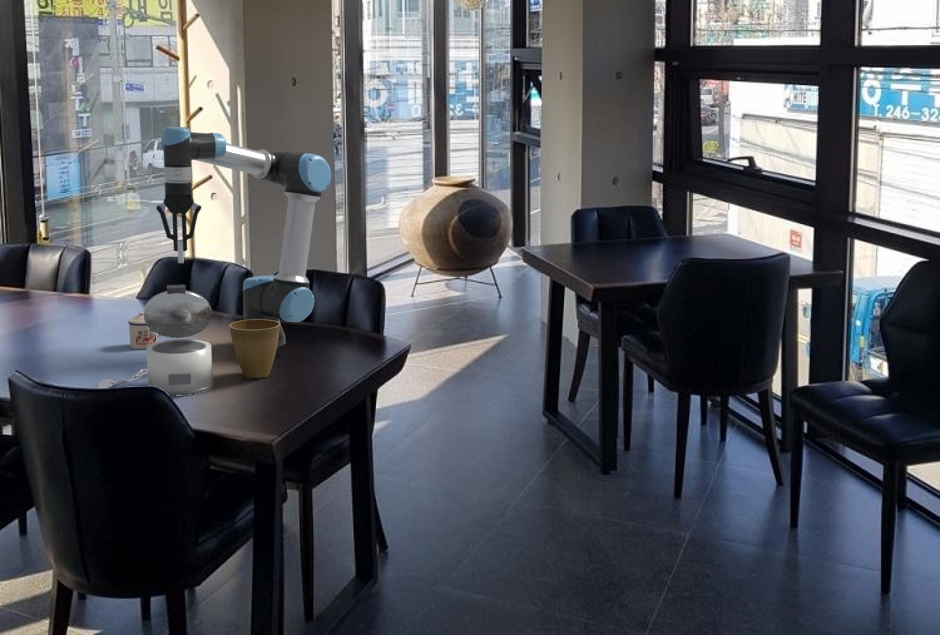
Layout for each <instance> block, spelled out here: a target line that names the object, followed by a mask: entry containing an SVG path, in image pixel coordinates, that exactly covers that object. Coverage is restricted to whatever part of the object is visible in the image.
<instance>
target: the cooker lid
mask: <svg viewBox="0 0 940 635" xmlns="http://www.w3.org/2000/svg"><path fill="white" fill-rule="evenodd" d="M143 312H144V321H145V323H146V325H147V326H148V327H149V328H150V329H151V330H152V331H154V332H155V333H157V335H162V337H166V338H173V339H175V338H178V339H181V338H189V337H192V336H194V335H197V334H199V333H201V332H203V331H204V330H205V329H206V328H207V327H208V326H209V325H210V323H211V322H212V318H213V317H212V314H213V313H212V308H211V304H210V302H209V301H208V300H207V299H206V298H205V297H204V296H202V295H200V294H198V293H196V292H193V291H191V290H186V284H167V285H166V290H165V291H163V292H160V293H158V294H155V295H153V296H152V297H151V298H150V299H148V301H147V302H146V304H145V306H144V307H143Z"/></svg>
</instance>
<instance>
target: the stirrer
mask: <svg viewBox="0 0 940 635" xmlns="http://www.w3.org/2000/svg"><path fill="white" fill-rule="evenodd" d="M145 376H148V368H143V369H141V370H138V371H137V372H136V373H135V374H134V375H133V376H132V377H130V378H129V379H125V380H122V379H121V380H118V379H114V378H107V379H103V380H101V381H100V382H99V383H98V385H97V388H98V387H110V388H111V387H112V386H114V385H115V384H116V383H118V382H122V383H123V382H124V383H129V382H132V381H135V380H140V379H142V378H144V377H145ZM128 381H129V382H128Z"/></svg>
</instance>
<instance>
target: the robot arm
mask: <svg viewBox="0 0 940 635" xmlns="http://www.w3.org/2000/svg"><path fill="white" fill-rule="evenodd" d="M190 130H191V129H190V128H189V127H185V126H177V127H176V126H168V127H165V128H164V129H163V132H162V136H161V139H160V147H161V150H162V151H163V173H164V174H163V175H164V180H165V181H166V182H165V183H164V199H163V202H161V203H160V204H157V206H156V210H157V212H158V213H159V215H160V217H161V222H162V225H163V228H164V229H163V230H164V231H165V236H166V238H167V239H170V240H172V241H173V251H174V252H177V263H178V264H184V261H185V259H184V258H185V257H184V252H187V251H188V240H190V239H193V238H194V233H195V229H196V224H197V220H198V214H199V213H200V211H201V210H202V205H200V204H198V203H196V202H195V200H194V198H193V192H192V191H193V189H192V186H193V184H192V183H191V181H192V161H196V162H197V161H198V162H202V163H205V164H210V165H213V166H218V167H221V168H222V167H223V168H227V169H231V170H235V171H238V172H242V173H247V174H250V175H252V176H253V177H254V178H255V179H258V180H262V181H265V182H267V183H270V184H274V185H277V186H279V187H283V188H284V194H285V196H286V197H287V199H288V201H287V209H286V215H285V223H284V224H285V225H284V229H283V230H284V232H283V239H282V245H281V246H282V247H281V254H280V255H281V256H280V262H279V267H278V268H279V270H278V273H277V274H276V275H273V274H272V275H270V274H269V275H257V276H252V277H248V278H246V279H244V281H243V283H242V284H243V285H242V297H243V299H242V300H243V302H242V304H243V320H251V319H265V320H273V321H277V322H279V323H280V330H279V338H278V344H277V349H278V348H281V346H282V347H283V345H284V344H285V345H286V334H285V333H284V332H285V331H284V329H283V327H282V325H281V320H283V321H285V322H291V323H299V322H303V321H304V320H305V319H306V318H307V317H309V315H310V314H311V313H312V311H313V308H314V305H315V296H314V294H313V291H312V290H310V281H309V279H308V277H307V276H306V275H307V268H308V261H309V260H308V259H309V255H310V254H309V253H310V244H311V240H312V239H311V238H312V230H313V222H314V216H315V215H314V214H315V206H316V203H317V202H318V201H319V200H320V199H321V198H322V192H324V191H326V190H327V188H328V187H330V186H329V185H330V183H331V179H332V172H331V168H330V165H329V164H328V162H327V160H326V159H325V158H324V157H322V156H321V155H318V154H314V153H310V152H309V153H306V152H293V151H278V150H277V151H274V150H268V149H263V148H262V149H258V150H254V149H250V148H247V147H243V146H239V145H235V144H231V143H227V141H226V140H227V139H226V138H225V136H224V135H223V134H221V133H218V132H215V133H214V132H208V133H205V132H204V133H203V132H195V131H194V132H192V131H190ZM166 208H167V209H168V211H169V213H171V214H172V233H171V229H170V226H169V223H168V219H167V214H166V213H165V210H166ZM191 208H192V211H193V215H192V218H191V224H190V228H189V233H187V232H188V230H187V213H188V212H189V211H190V210H191ZM178 214H180V215H181V230H182V231H181V235H182V239H179V237H178V236H179V235H178ZM285 345H284V346H285Z"/></svg>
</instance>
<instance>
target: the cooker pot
mask: <svg viewBox="0 0 940 635" xmlns="http://www.w3.org/2000/svg"><path fill="white" fill-rule="evenodd" d="M212 356H213V355H212V345H211V342H210V343H209V342H207V341H204V340H201V339H191V338H189V339H188V338H187V339H181V338H178V339H170V340H162V341H157V343H154V344H151V345H149V346H148V347H147V349H146V358H147V359H146V360H147V369H148V374H147V379H148V380H147V381H148V383H147V386H148V385H151V386H156V387H158V388H161V389H163V390H164V391H165V392H167V393H168V394H169V395H170V396H169V397H171V396H176V395H188V394H195V393H199V392H203V391H206V390H208V389H210V388H211V387H213V385H215V383H214V382H215V381H214V379H213V361H212V360H213V357H212ZM213 388H214V387H213ZM206 392H207V391H206Z"/></svg>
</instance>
